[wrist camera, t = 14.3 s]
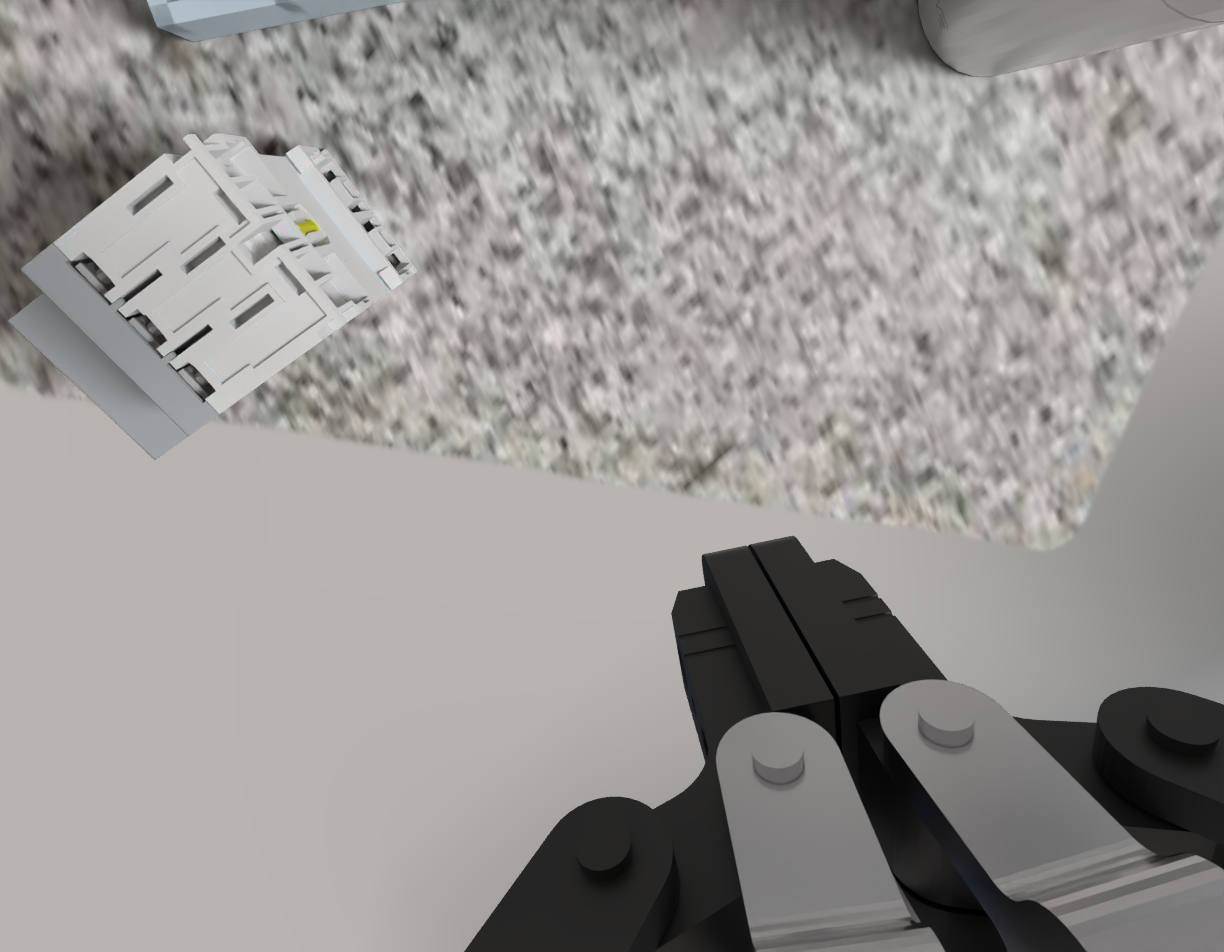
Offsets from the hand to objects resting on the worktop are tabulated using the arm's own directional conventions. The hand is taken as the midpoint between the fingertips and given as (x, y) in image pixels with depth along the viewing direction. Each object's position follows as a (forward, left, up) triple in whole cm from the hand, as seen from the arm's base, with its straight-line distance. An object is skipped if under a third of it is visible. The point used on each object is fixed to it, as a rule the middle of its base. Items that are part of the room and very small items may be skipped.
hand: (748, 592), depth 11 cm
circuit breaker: (+18, -4, -32) cm, 37 cm away
